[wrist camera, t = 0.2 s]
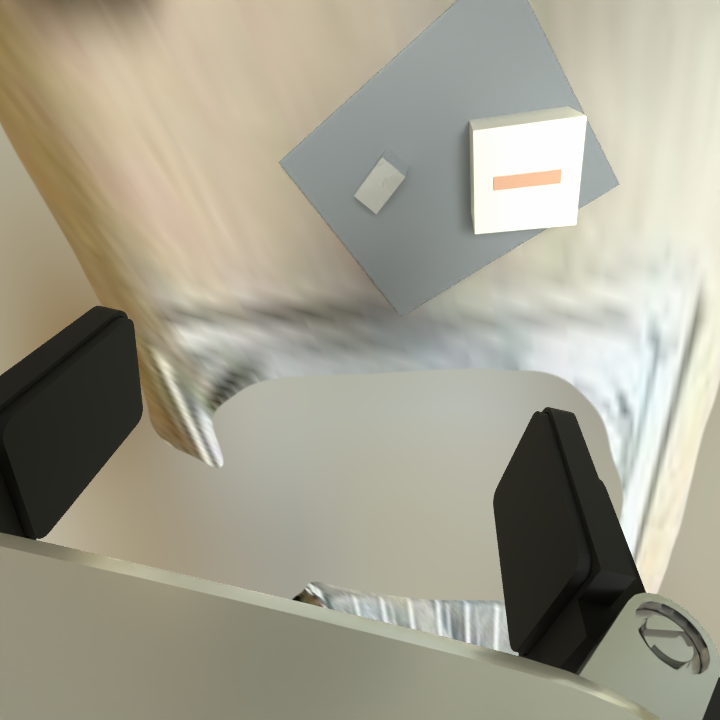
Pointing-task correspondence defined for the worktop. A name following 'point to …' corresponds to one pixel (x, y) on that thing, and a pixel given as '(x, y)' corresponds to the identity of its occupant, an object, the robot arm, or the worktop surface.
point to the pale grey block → (382, 180)
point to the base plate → (435, 147)
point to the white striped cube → (526, 169)
